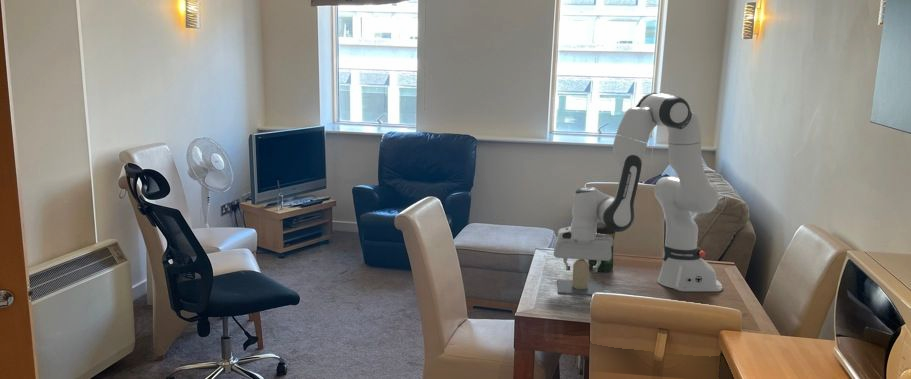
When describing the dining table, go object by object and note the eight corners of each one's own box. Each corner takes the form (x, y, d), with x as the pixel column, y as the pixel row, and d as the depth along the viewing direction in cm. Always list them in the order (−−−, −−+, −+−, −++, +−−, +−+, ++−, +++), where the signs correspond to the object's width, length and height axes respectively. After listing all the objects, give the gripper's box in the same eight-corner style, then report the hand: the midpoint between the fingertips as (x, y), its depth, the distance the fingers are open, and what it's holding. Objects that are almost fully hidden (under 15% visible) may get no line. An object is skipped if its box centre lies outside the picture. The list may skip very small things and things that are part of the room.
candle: (587, 290, 245) (589, 262, 243) (572, 288, 246) (573, 261, 244) (587, 285, 250) (589, 258, 248) (572, 284, 251) (573, 257, 249)
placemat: (601, 283, 254) (601, 282, 254) (604, 296, 240) (604, 295, 240) (557, 281, 256) (557, 279, 255) (558, 293, 242) (558, 292, 242)
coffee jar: (616, 271, 270) (619, 224, 266) (600, 273, 266) (603, 226, 263) (600, 264, 278) (603, 219, 275) (584, 266, 274) (587, 220, 271)
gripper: (612, 232, 246) (610, 269, 248) (554, 229, 248) (552, 266, 251) (614, 236, 240) (612, 275, 242) (554, 233, 242) (552, 271, 245)
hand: (581, 270), depth 247 cm, fingers open, 8 cm apart
